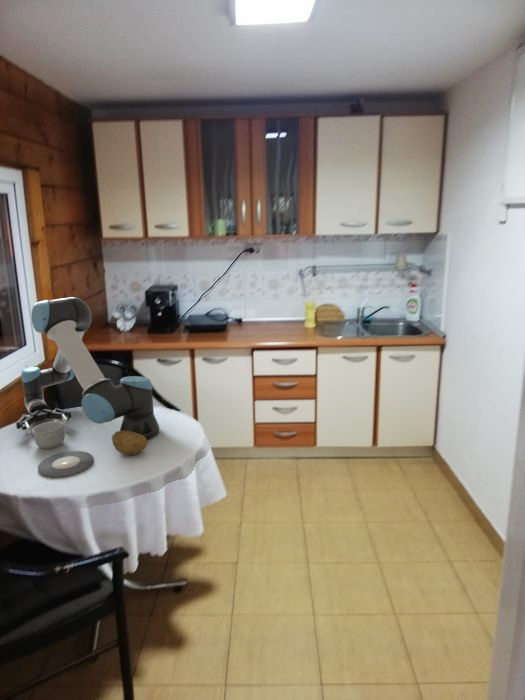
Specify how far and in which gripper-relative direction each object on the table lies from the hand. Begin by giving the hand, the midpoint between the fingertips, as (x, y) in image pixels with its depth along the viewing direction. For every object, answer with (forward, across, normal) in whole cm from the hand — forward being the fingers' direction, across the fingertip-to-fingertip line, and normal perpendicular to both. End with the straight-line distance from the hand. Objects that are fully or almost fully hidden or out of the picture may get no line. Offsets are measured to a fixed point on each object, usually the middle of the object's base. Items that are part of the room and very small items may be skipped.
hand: (48, 426), depth 190 cm
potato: (+29, -22, -6) cm, 37 cm away
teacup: (+4, 0, -6) cm, 7 cm away
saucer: (+25, -1, -6) cm, 26 cm away
